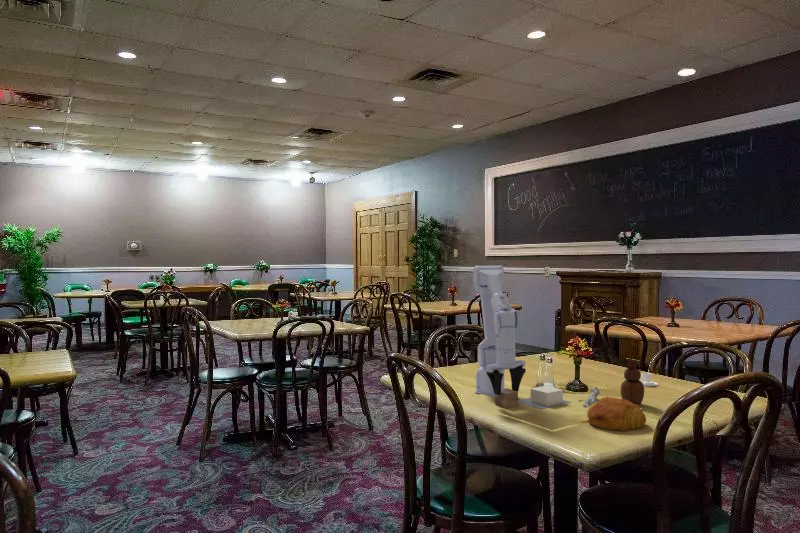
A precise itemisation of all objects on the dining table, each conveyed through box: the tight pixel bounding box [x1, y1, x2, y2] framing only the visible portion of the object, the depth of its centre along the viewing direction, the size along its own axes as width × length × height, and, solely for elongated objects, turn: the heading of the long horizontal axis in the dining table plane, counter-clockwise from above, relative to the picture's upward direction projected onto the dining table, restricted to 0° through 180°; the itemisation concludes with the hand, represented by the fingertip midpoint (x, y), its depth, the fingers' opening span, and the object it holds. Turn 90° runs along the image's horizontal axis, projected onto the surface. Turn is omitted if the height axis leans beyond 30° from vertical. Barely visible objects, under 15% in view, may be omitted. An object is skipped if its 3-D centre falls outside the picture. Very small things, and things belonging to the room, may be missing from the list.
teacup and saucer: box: [640, 372, 659, 387], centre depth 204 cm, size 9×8×4 cm
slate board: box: [518, 396, 573, 411], centre depth 179 cm, size 12×14×1 cm
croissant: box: [586, 396, 647, 432], centre depth 157 cm, size 14×16×8 cm
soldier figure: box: [578, 386, 601, 408], centre depth 177 cm, size 8×5×12 cm
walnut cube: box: [494, 388, 519, 409], centre depth 176 cm, size 5×5×5 cm
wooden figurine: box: [620, 356, 645, 406], centre depth 177 cm, size 7×6×15 cm
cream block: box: [530, 385, 564, 406], centre depth 179 cm, size 7×7×4 cm
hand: (506, 392), depth 176 cm, fingers open, 7 cm apart
